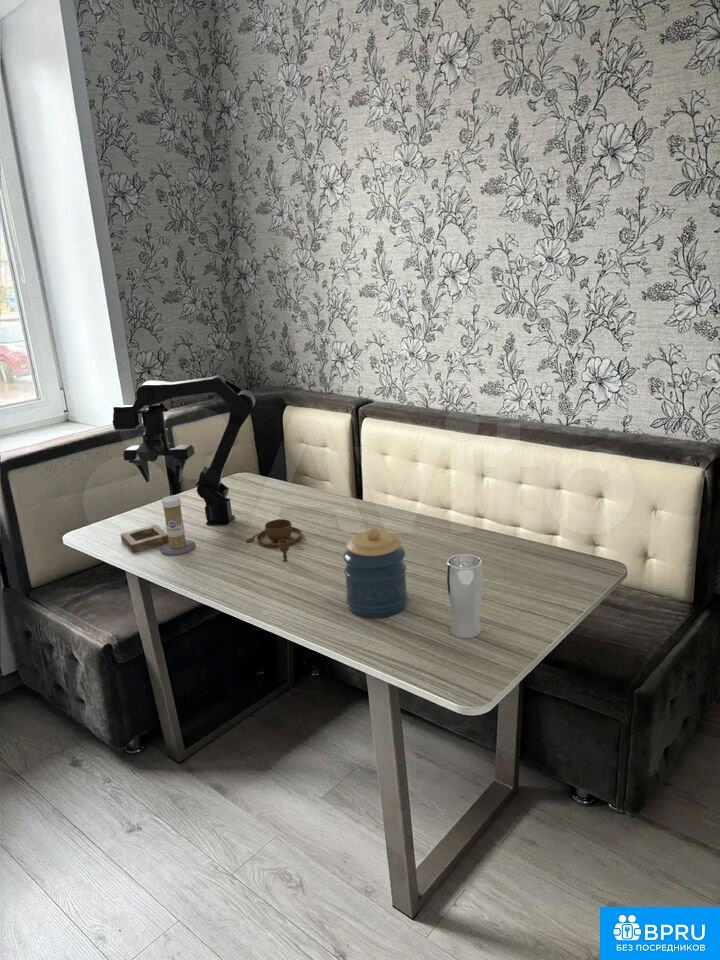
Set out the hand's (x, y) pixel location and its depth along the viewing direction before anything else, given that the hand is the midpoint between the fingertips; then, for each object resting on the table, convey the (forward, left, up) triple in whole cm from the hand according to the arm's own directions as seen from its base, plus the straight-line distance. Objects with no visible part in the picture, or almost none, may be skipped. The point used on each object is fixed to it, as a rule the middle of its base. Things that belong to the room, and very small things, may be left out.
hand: (163, 481), depth 205 cm
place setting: (-35, +14, -14) cm, 40 cm away
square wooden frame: (+2, +12, -13) cm, 18 cm away
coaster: (-9, +16, -13) cm, 22 cm away
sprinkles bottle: (-9, +16, -13) cm, 22 cm away
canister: (-66, +44, -13) cm, 80 cm away
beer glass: (-85, +54, -13) cm, 102 cm away
